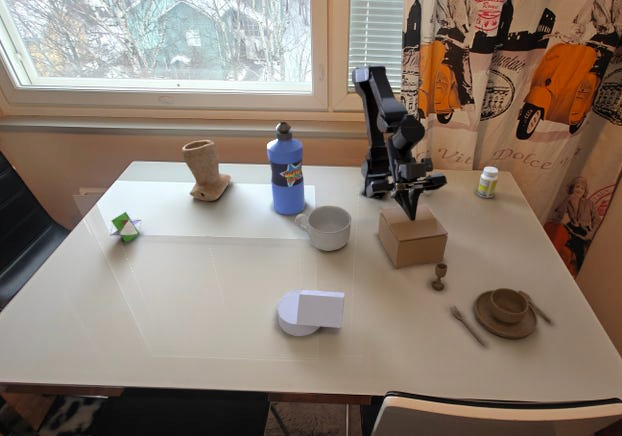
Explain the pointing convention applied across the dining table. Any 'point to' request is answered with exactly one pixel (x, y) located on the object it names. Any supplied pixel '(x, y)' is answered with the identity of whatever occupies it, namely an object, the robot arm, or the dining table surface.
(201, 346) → the dining table surface
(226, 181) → the stone cup
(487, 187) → the supplement bottle
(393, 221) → the flap
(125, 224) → the geometric puzzle
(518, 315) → the place setting
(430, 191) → the watch
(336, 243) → the teacup
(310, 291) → the wedge on round base
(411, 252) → the carton
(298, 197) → the water bottle
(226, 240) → the dining table surface
